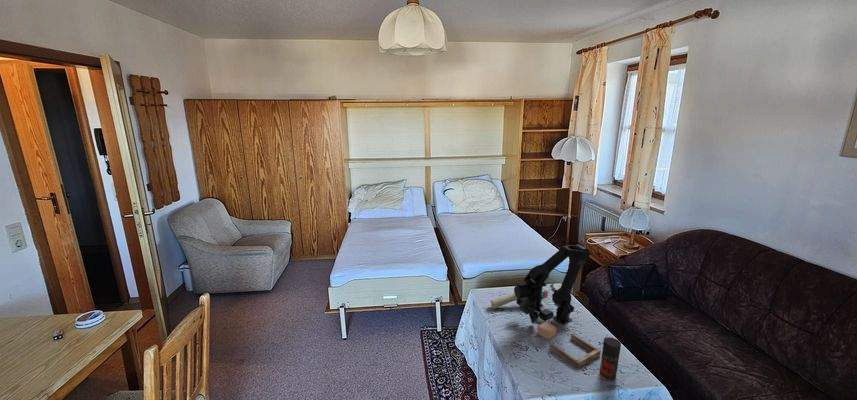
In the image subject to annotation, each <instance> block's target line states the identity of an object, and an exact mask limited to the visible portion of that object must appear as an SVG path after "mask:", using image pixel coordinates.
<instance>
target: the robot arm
mask: <svg viewBox="0 0 857 400" xmlns="http://www.w3.org/2000/svg"><path fill="white" fill-rule="evenodd" d="M590 256H591V250H589V249H588V248H586V247H584V246H583V245H580V244H574V245H571V244H569V245H562V246H561V247H559V250H558V251H556V252H555V253H554V254H552V256H551V257H549V258H548V259H547V260H546V261H545V262H544V263H541V264H539V265H538V264H537V265H535V266H534V267H532V268H531V269H530V270H529V271H528V273H527V275H526V276H525V277H524V279H523V281H524V282H522V283H520V282H518V283H516V285H515V286H514V288H513V294H514V293H515V296H516V297H517V298H518V299H517V300H516V304H517V305H518V306H519V311H521V312H522V313H524V314H525V315H529V318H530V322H531V324H536V323H535V322H536V320H537V319H538V317H540V318H541V319H542V320H544V321H546V322H547V321H549V320H551V319H553V320H557V321H558V322H560V323H561V324H567V323H569V322H572V320H573V319H572V318H570V315H571V313H573V312H574V310H575V307H574V306H573V305H572V304H571V303H572V290H573V287H574V284H575V282H576V280H577V277H578V275H579V273H580V269H581V267H582V266H583V265H584V264H586V262H587V261H588V259H589V258H590ZM568 257H569V258H570V263H569V266H568V268H567V270H566V273H565V275H564V277H563V281H562V283H561V285H560V287H559V288H558V289H555V290H554V292H553V293H552V294H553V295H552V294H551V297H552V299H551V300H552V302H553V303H554V306H556V312H555V313H556V314H554V312H553V311H551V310H550V309H548V308H545V309H544V308H543V303H542V300H544V298H543V296H542V292H543V288H544V287H547V285H548V284H546V283H545V282H546V281H547V280H548V278H549V277H550V274H551V272H552V271H553V270H555V269H556V268H557V267H558V266H559V265H560V264H562V263H563V262H564V261H565V260H566V259H567V258H568Z"/></svg>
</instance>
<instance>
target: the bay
mask: <svg viewBox="0 0 857 400" xmlns="http://www.w3.org/2000/svg"><path fill="white" fill-rule="evenodd" d="M570 340H571V341H573V342H575V343H577V344H578V345H580V346H582V347H583V348H584V349H586V350H588V351H589V353H587V354H585V355H584V356H581V357H579V358H578V359H576V358H574V357H573V356H571V355H570V354H568V353H567V352H566V351H564V350H563V349H561V347H558V346H556V345H555V344H553V343H551V344H550V351H552V352H553V353H555V354H556V355H558V356H560V358H562V359H564V360H565V361H567V362H568V363H570V364H571V365H573V366H574V367H575V368H576V369H579V368H581V367H583V366H584V365H586V364H588V363H590V362H591V361H593V360H595V359H597V358H598V357H600V356H601V354H602V350H601V349H599V348H598V347H596V346H594V345H592V344H591V343H590V342H588V341H586V340H584V338H583V339H582V338H581V337H580V336H578V335H576V334H574V333H571V334H570Z"/></svg>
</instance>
